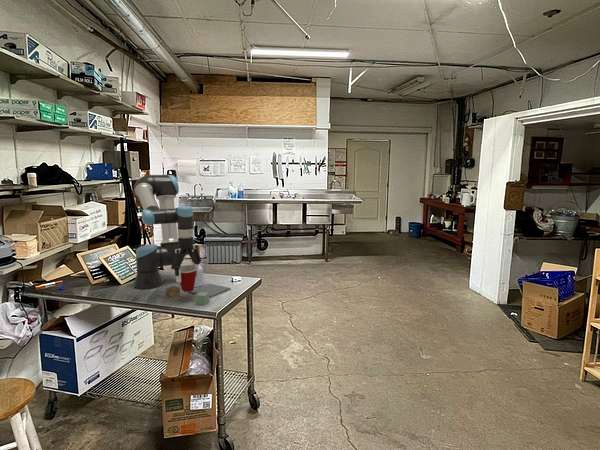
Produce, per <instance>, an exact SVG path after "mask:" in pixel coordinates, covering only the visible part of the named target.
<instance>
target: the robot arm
mask: <svg viewBox="0 0 600 450" xmlns="http://www.w3.org/2000/svg"><path fill="white" fill-rule="evenodd" d="M179 188H180V187H179V183H178V180H177V177H176V176H174V175H172V174H147V175H143V176H141V177H139V178H138V179H137V180H136V182H135V183H134V186H133V190H134V194H135V196H137V197H138V199H139V201H140V205H141V206H142V209H143V210H142V212H141V220H142V224H144V225H145V226H146V225H147V226H148V225H150V226H153V225H160V227H161V238H162V240H161V242H160V243H159V245H160V246H158V245H157V244H156V243H153V244H145V245H142V246H139V247H136V249H135V261H136V262H135V263H136V276H135V278H134V279H135V280H134V283H133V286H134V288H135V287H136V288H135V289H137V288H139V289H138V290H150V289H155V288H159V287H161V286H162V285H163V279H162V277H161V274H160V271H159V267H165V266H171V267H170V269H171V270H174V276H175V282H176V283H180V282H181V269H179V268H180V266H182V265H183V262H184V261H185V258H186V256H189V257H190V259H191V261H193V262H194V263H195V264H193V265H195V266H197V267H198V264H199V265H201V262H202V258H201V256H200V255H199V252H198V245H199V244H195V245H193V244H194V243H195V241H194V239H195V238H194V212H193V210H194V209H193V207H192V206H190V205H180V206H177V207H176V206H175V199H176V198H177V195H178V194H179V193H180V192H179V191H180V190H179ZM157 201H158V202H157ZM196 277H198V269H197V271H196Z"/></svg>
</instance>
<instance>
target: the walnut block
mask: <svg viewBox="0 0 600 450" xmlns="http://www.w3.org/2000/svg"><path fill="white" fill-rule="evenodd" d="M180 296H181V286H178V285H170V286H167V287H165V297H166V298H170V299H175V298H178V297H180Z"/></svg>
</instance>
